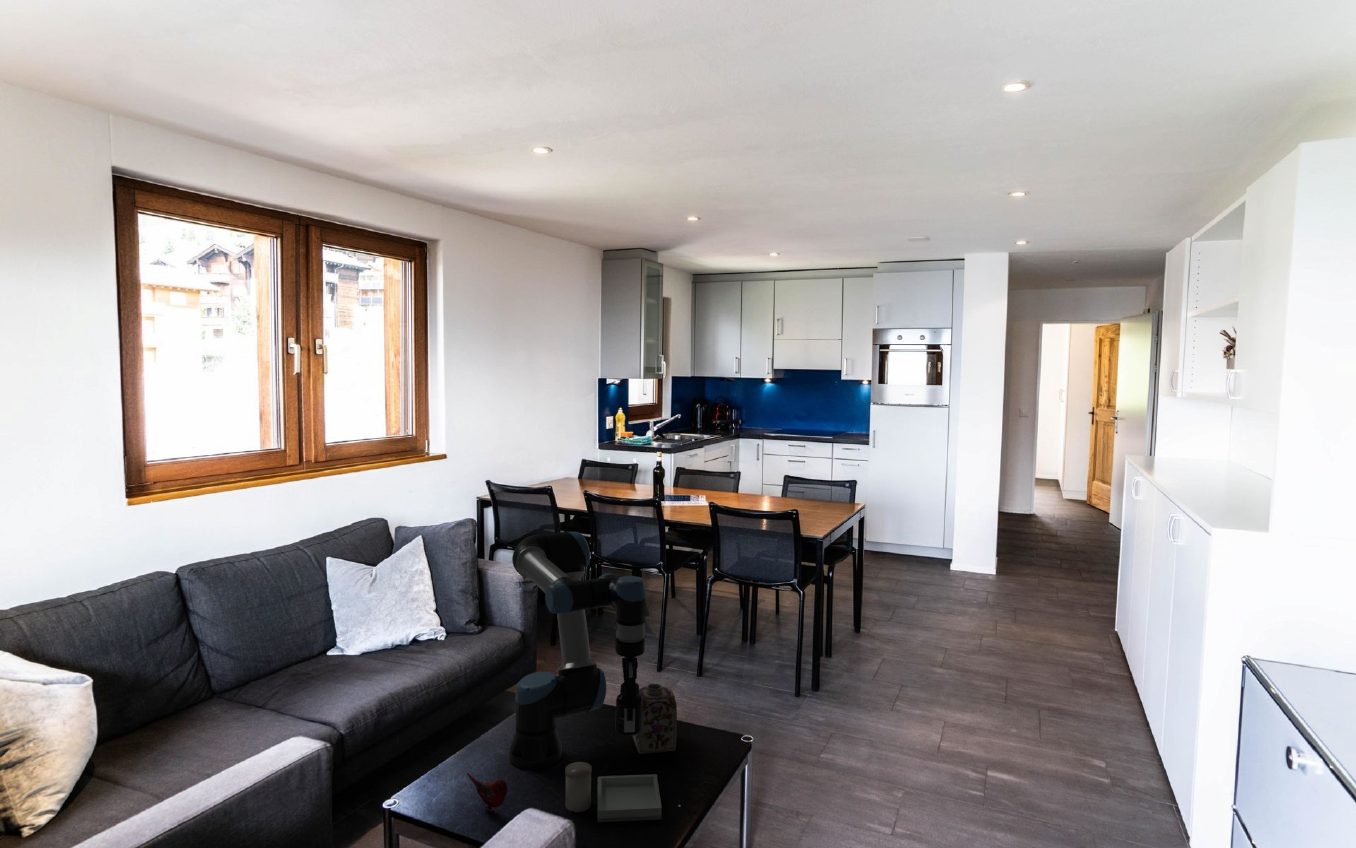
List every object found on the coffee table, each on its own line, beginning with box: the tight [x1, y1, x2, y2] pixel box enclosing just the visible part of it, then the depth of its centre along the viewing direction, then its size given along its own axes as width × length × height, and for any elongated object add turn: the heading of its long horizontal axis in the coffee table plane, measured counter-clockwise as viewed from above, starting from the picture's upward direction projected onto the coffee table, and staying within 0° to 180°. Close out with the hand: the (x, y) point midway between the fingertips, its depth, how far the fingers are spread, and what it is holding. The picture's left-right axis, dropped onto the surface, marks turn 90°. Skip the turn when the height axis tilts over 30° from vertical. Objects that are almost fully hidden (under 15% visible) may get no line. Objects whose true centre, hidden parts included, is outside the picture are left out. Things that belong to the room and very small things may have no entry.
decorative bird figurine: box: [466, 773, 509, 816], centre depth 189 cm, size 3×18×10 cm, turn 49°
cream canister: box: [564, 761, 593, 813], centre depth 192 cm, size 7×7×10 cm
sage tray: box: [597, 773, 663, 823], centre depth 193 cm, size 16×16×3 cm
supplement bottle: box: [614, 682, 642, 737], centre depth 192 cm, size 7×7×12 cm
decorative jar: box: [632, 683, 678, 755], centre depth 225 cm, size 12×12×18 cm
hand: (628, 724), depth 192 cm, fingers closed on supplement bottle, 7 cm apart
